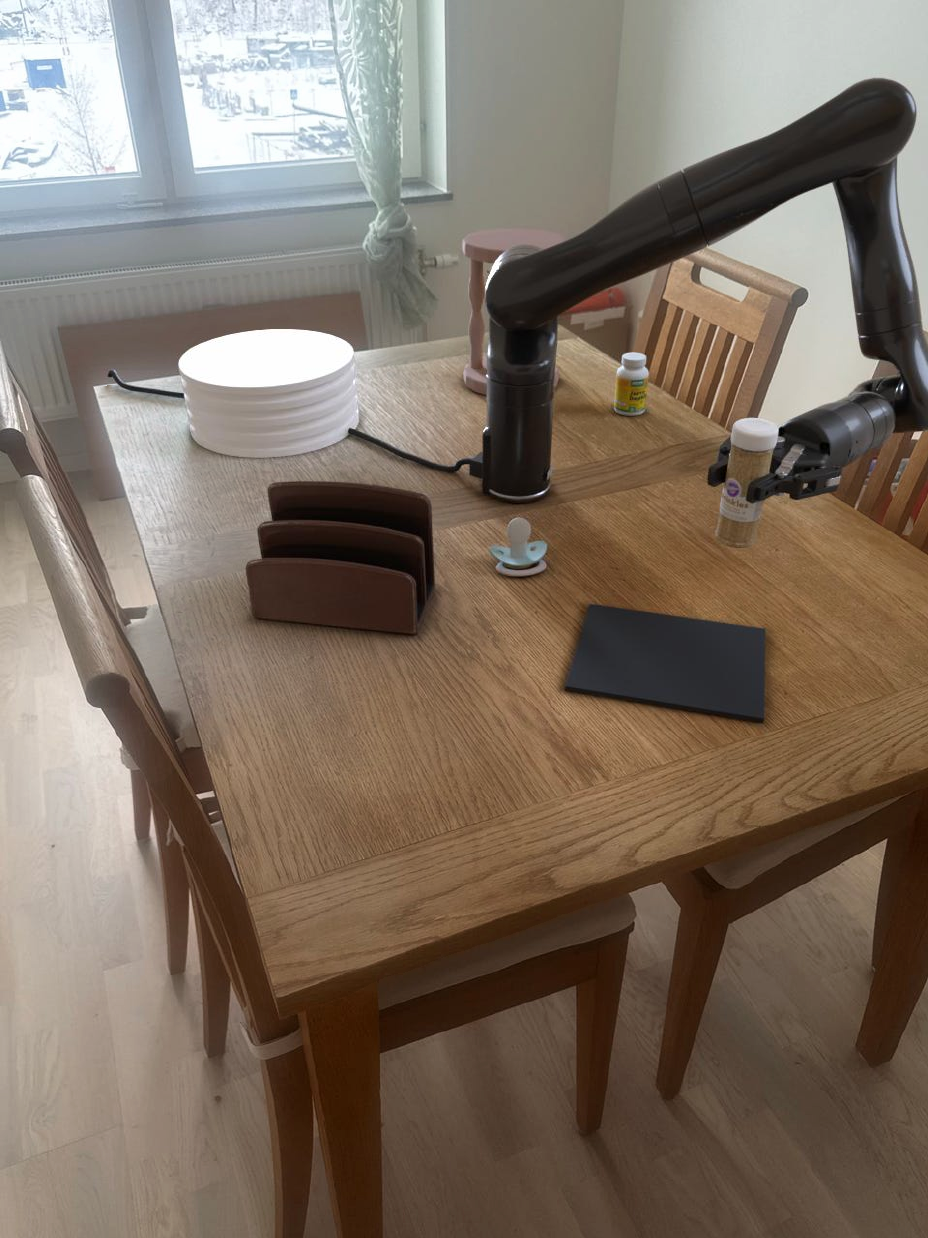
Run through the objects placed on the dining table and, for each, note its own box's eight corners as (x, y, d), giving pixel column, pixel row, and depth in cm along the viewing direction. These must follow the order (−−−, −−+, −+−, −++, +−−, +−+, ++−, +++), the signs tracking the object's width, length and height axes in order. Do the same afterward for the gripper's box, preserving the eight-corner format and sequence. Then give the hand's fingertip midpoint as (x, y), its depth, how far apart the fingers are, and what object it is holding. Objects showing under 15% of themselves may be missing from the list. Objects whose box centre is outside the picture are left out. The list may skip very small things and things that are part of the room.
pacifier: (553, 576, 115) (541, 551, 119) (556, 533, 111) (544, 509, 116) (495, 582, 114) (486, 556, 118) (496, 539, 110) (487, 514, 115)
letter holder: (281, 575, 115) (267, 472, 107) (436, 590, 112) (433, 485, 104) (252, 619, 107) (233, 512, 99) (417, 637, 104) (412, 527, 96)
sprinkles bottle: (707, 541, 101) (725, 426, 93) (726, 525, 104) (745, 412, 96) (745, 554, 99) (767, 437, 91) (764, 537, 101) (787, 423, 94)
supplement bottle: (630, 402, 161) (635, 348, 156) (651, 412, 158) (657, 357, 152) (607, 409, 159) (611, 354, 153) (627, 419, 155) (633, 363, 150)
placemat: (564, 690, 96) (565, 685, 96) (589, 607, 109) (589, 603, 108) (763, 723, 91) (764, 718, 91) (764, 632, 104) (765, 628, 104)
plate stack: (160, 421, 156) (147, 355, 150) (298, 380, 171) (291, 319, 165) (247, 474, 139) (236, 401, 132) (392, 423, 154) (388, 356, 148)
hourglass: (571, 372, 174) (579, 232, 160) (539, 404, 161) (545, 254, 147) (485, 360, 180) (486, 224, 166) (448, 389, 167) (445, 245, 153)
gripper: (775, 391, 107) (680, 431, 98) (890, 428, 98) (796, 476, 89) (764, 451, 111) (672, 494, 102) (873, 492, 102) (782, 543, 93)
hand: (730, 485), depth 96 cm, fingers closed on sprinkles bottle, 4 cm apart
